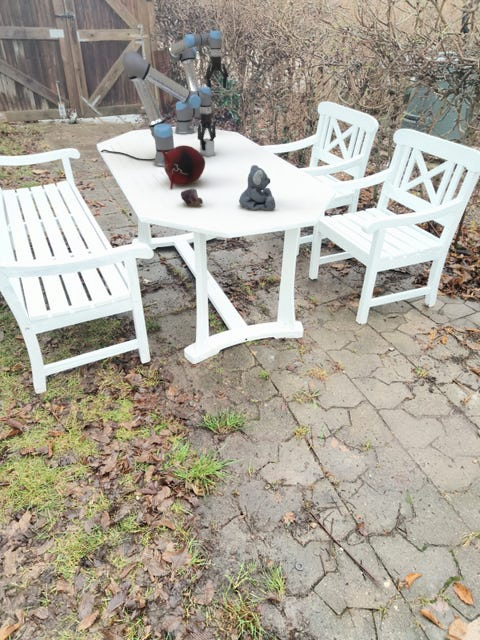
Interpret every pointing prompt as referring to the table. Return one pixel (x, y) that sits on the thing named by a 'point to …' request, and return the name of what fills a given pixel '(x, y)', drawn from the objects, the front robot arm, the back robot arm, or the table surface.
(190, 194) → the rock
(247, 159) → the table surface
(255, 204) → the koala plush
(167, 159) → the red pot
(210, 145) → the block
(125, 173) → the table surface
